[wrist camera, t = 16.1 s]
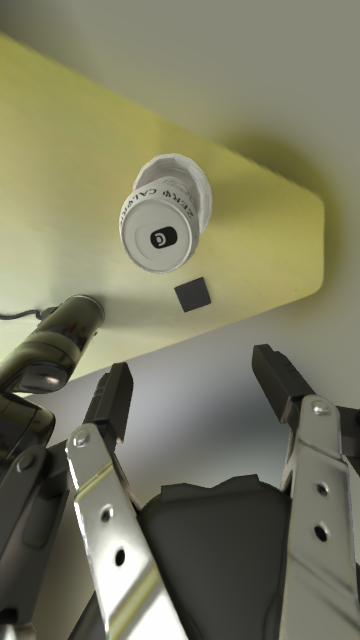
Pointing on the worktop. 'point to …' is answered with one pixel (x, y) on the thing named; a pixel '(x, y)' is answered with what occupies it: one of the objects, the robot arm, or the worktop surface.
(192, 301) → the coaster
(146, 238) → the energy drink can
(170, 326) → the worktop surface
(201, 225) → the plastic cup
